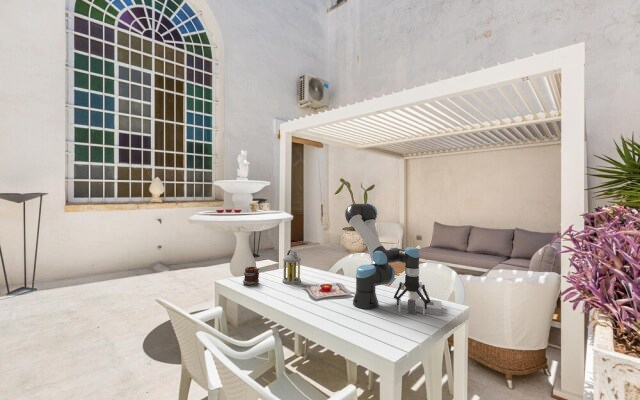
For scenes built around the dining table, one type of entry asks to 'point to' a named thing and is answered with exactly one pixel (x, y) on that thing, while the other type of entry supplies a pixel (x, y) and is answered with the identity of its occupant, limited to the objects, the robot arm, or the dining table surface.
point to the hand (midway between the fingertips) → (411, 312)
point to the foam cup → (414, 294)
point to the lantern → (291, 268)
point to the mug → (251, 276)
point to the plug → (411, 306)
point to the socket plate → (429, 307)
